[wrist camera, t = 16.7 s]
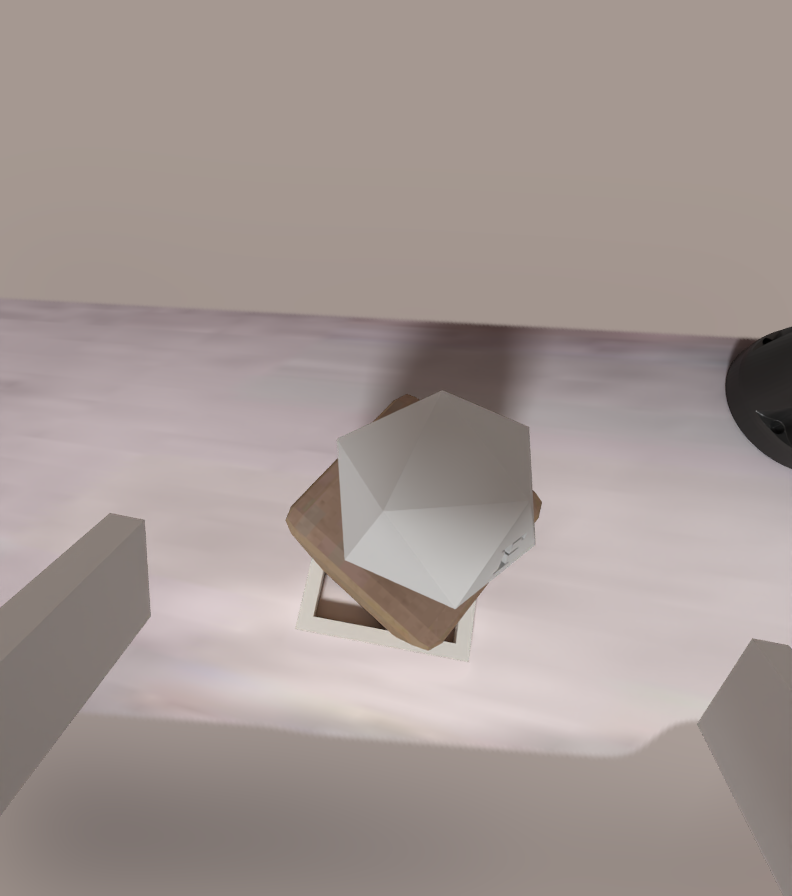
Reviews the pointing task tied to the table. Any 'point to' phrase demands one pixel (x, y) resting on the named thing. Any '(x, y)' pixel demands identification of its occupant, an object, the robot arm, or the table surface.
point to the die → (437, 496)
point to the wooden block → (385, 600)
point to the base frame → (374, 635)
